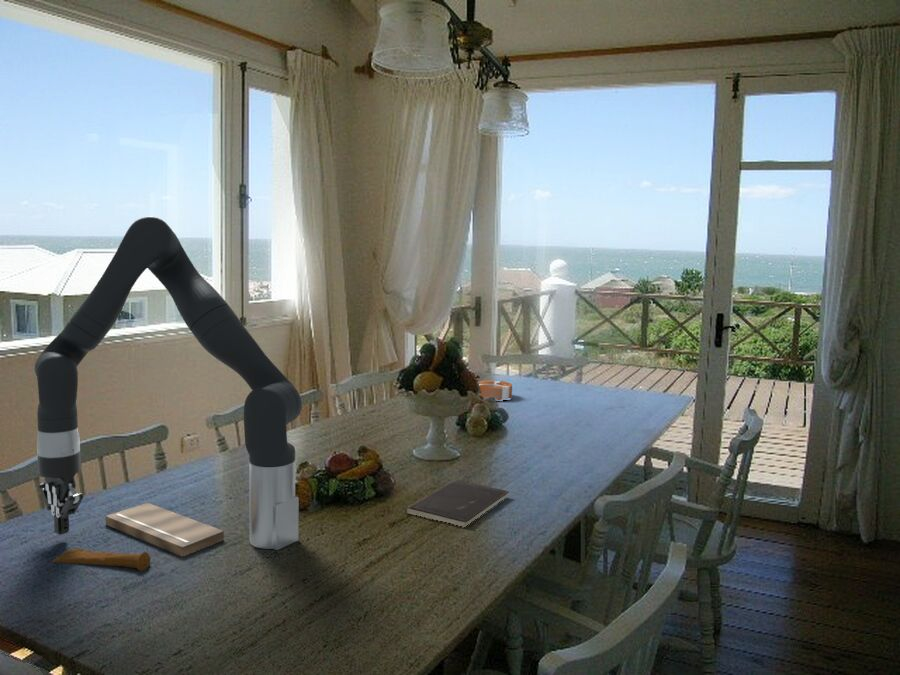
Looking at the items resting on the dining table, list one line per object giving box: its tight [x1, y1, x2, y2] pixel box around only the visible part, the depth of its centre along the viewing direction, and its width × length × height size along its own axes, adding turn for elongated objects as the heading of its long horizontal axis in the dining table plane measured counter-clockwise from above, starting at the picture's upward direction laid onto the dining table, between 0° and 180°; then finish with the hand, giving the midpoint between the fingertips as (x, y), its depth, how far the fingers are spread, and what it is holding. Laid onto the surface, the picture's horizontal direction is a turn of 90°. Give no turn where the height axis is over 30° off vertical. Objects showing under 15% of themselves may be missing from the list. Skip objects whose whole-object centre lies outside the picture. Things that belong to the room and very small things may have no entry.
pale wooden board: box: [105, 502, 225, 558], centre depth 152 cm, size 26×10×2 cm, turn 57°
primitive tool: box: [51, 548, 151, 572], centre depth 139 cm, size 19×6×4 cm, turn 80°
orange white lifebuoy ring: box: [478, 378, 513, 400], centre depth 292 cm, size 7×15×15 cm
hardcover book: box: [404, 479, 510, 528], centre depth 174 cm, size 16×23×2 cm
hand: (61, 532), depth 147 cm, fingers closed
